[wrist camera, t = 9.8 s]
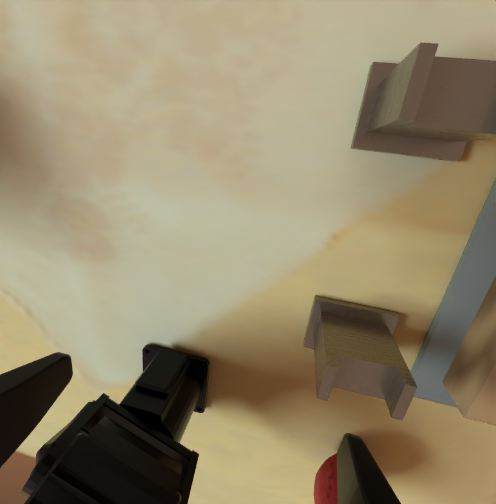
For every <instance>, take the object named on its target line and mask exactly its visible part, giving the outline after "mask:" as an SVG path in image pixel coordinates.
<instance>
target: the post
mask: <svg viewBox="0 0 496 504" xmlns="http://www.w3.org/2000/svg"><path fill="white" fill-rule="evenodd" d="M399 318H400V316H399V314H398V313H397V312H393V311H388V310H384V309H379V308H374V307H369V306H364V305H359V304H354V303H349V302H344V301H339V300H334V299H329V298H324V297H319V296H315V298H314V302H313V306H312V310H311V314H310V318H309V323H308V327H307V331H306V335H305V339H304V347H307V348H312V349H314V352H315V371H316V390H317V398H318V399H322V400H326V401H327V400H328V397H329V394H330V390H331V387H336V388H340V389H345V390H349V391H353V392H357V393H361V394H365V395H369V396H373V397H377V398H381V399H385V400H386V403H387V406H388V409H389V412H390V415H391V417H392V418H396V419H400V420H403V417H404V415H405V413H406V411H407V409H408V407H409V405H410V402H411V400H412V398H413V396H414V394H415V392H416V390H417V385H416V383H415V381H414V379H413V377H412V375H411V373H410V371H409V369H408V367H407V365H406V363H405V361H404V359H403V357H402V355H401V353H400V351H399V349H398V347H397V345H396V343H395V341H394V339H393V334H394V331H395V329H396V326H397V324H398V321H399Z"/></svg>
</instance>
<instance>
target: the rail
mask: <svg viewBox="0 0 496 504" xmlns="http://www.w3.org/2000/svg"><path fill="white" fill-rule="evenodd" d="M442 383H443V384H444V386H445V387H446V389H447V391H448V392H449V394H450V396H451V397H452V399H453V400H454V402H455V404H456V405H457V407H458V409H459V410H460V412H461V413H462V415H463V417H464V418H467V419H471V420H475V421H479V422H483V423H487V424H492V425H496V276H495V278H494V280H493V282H492V284H491V286H490V288H489V290H488V292H487V294H486V296H485V298H484V300H483V302H482V304H481V306H480V308H479V310H478V312H477V313H476V315H475V317H474V319H473V321H472V323H471V325H470V327H469V329H468V331H467V333H466V335H465V337H464V339H463V341H462V343H461V345H460V347H459V349H458V351H457V353H456V355H455V357H454V359H453V361H452V363H451V365H450V367H449V369H448V371H447V373H446V375H445V377H444V379H443V381H442Z"/></svg>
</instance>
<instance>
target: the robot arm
mask: <svg viewBox="0 0 496 504" xmlns="http://www.w3.org/2000/svg"><path fill="white" fill-rule="evenodd" d="M142 351H143V373H142V374H141V375H140V377H139V378H138V379H137V381H136V382H135V384H134V385H133V387H132V388H131V389H130V391H129V392H128V393H127V395H126V396H125V397H124V399H123V400H122V401H121V403H120V404H117V403H116V402H114V401H113V400H111V399H110V398H109V396H107V395H106V394H104V393H103V394H102V395H101V396H100V397H99V398H98V399H97V400H96V401H93V402H88V403H87V404H86V405H85V406H84V408H83V409H82V410H81V411H80V412H79V413H78V414H77V415H76V417H75V418H74V419H73V420H72V421H71V422H70V423H69V424H68V425H66V426H65V427H64V428H63V429H62V430H60V431H59V432H58V433H57V434H56V435H55V436H53V437H52V438H51V439H50V440H49V441H48V442H46V443H45V444H44V445H43V446H42V447H41V448H40V450H39V451H38V452H37V454H36V465H35V468H34V469H33V471H32V472H31V474H30V478H29V479H28V481H27V482H26V484H25V485H24V487H23V489H22V491H21V493H23V494H24V495H26V496H28V497H29V498H28V500H27V501H26V502H25V503H24V504H187V503H188V499H189V495H190V490H191V486H192V482H193V478H194V473H195V469H196V465H197V461H198V456H199V454H198V453H197V452H195V451H191V450H189V449H188V448H186V447H185V446H183V445H181V444H180V440H181V438H182V436H183V434H184V431H185V429H186V427H187V424H188V422H189V420H190V418H191V415H192V413H193V411H195V412H198V413H203V412H204V410H205V408H206V399H207V388H208V377H209V366H210V363H209V361H208V360H207V359H205V358H201V357H197V356H193V355H189V354H185V353H181V352H177V351H173V350H169V349H165V348H161V347H157V346H153V345H149V344H148V345H146V346H145V347H144V348H143V350H142ZM204 364H205V365H204ZM72 375H73V371H72V362H71V357H70V355H68V354H64V353H60V352H57V353H54V354H51V355H49V356H46V357H44V358H41V359H39V360H36V361H34V362H31V363H28V364H26V365H23V366H21V367H18V368H16V369H13V370H11V371H8V372H6V373H3V374H1V375H0V468H1V466H2V465H3V464H4V463H5V462H6V461H7V460H8V458H9V457H10V456H11V455H12V454H13V453H14V452H15V450H16V449H17V448H18V447H19V446H20V445H21V443H22V442H23V441H24V440H25V439H26V438H27V437H28V435H29V434H30V433H31V432H32V431H33V430H34V428H35V427H36V426H37V425H38V423H39V422H40V421H41V419H42V418H43V417H44V415H45V414H46V413H47V411H48V410H49V409H50V407H51V406H52V405H53V403H54V402H55V401H56V399H57V398H58V397H59V395H60V394H61V393H62V391H63V390H64V389H65V387H66V386H67V384H68V383H69V382H70V380H71V378H72ZM337 487H338V504H401V503H400V501H399V500H398V498H397V496H396V495H395V493H394V491H393V490H392V488H391V486H390V485H389V483H388V481H387V480H386V478H385V476H384V475H383V473H382V471H381V470H380V468H379V467H378V465H377V463H376V462H375V460H374V458H373V457H372V455H371V453H370V452H369V450H368V448H367V447H366V445H365V443H364V442H363V440H362V439H361V438H360V437H359V436H356V435H352V434H349V433H346V434H345V435H344V437H343V440H342V442H341V445H340V447H339V450H338V454H337Z"/></svg>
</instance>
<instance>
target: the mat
mask: <svg viewBox="0 0 496 504" xmlns="http://www.w3.org/2000/svg"><path fill="white" fill-rule="evenodd" d="M495 276H496V180H495V182H494V184H493V187H492V189H491V191H490V194H489V196H488V198H487V200H486V203H485V205H484V207H483V209H482V212H481V214H480V216H479V218H478V221H477V223H476V225H475V228H474V230H473V232H472V234H471V237H470V239H469V241H468V243H467V246H466V248H465V250H464V252H463V255H462V257H461V259H460V262H459V264H458V266H457V268H456V271H455V273H454V275H453V277H452V280H451V282H450V284H449V286H448V289H447V291H446V293H445V296H444V298H443V300H442V302H441V305H440V307H439V309H438V311H437V314H436V316H435V318H434V320H433V323H432V325H431V327H430V330H429V332H428V334H427V336H426V339H425V341H424V343H423V345H422V348H421V350H420V352H419V354H418V357H417V359H416V361H415V364H414V366H413V368H412V370H411V375H412V377H413V379H414V381H415V383H416V385H417V390H416V392H415V394H414V396H413V397H417V398H421V399H425V400H429V401H433V402H437V403H441V404H445V405H450V406H454V407H457V405H456V404H455V402H454V400H453V399H452V397H451V396H450V394H449V392H448V391H447V389H446V387H445V386H444V384H443V383H442V381H443V379H444V377H445V375H446V373H447V371H448V369H449V367H450V365H451V363H452V361H453V359H454V357H455V355H456V353H457V351H458V349H459V347H460V345H461V343H462V341H463V339H464V337H465V335H466V333H467V331H468V329H469V327H470V325H471V323H472V321H473V319H474V317H475V315H476V313H477V312H478V310H479V308H480V306H481V304H482V302H483V300H484V298H485V296H486V294H487V292H488V290H489V288H490V286H491V284H492V282H493V280H494V278H495Z"/></svg>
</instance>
